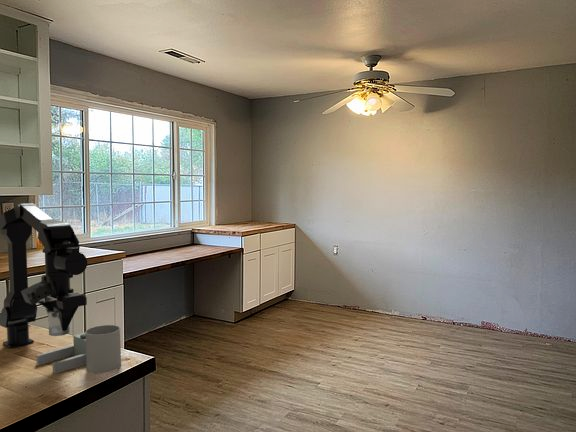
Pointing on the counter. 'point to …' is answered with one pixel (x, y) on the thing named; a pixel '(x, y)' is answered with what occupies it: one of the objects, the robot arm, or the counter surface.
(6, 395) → the counter surface
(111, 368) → the cup
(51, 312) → the bottle
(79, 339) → the grey u-shaped bracket
